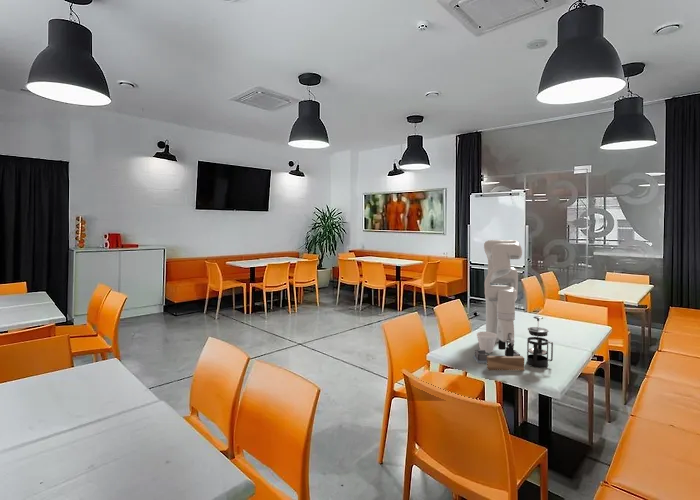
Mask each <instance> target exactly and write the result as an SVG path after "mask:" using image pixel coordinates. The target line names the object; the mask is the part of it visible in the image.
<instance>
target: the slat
mask: <svg viewBox="0 0 700 500" xmlns="http://www.w3.org/2000/svg"><path fill="white" fill-rule="evenodd" d="M486 369H487V370H488V371H525V356H523V355H520V356H487V363H486Z"/></svg>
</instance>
